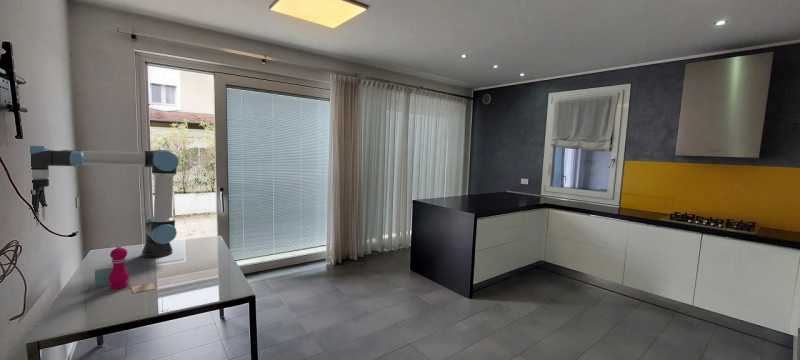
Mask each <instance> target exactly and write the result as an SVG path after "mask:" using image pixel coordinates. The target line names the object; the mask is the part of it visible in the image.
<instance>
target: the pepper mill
mask: <svg viewBox="0 0 800 360" xmlns="http://www.w3.org/2000/svg"><path fill="white" fill-rule="evenodd" d="M115 247H116V248H115V249H112V251H111V252H110V254H109V257H110V258H111V263H112V266H113V269H112V272H111V274H110V276H109V282H110V283H112V284H110V289H112V290H117V289H122V288H125V287H127V286H128V282H127V280H129V279H130V273H129V272H128V270H127V269H126V265H125V264H126V261H127V260H126V259H127V258H126V257H127V256H128V249H126V248H125V247H124V248H123V247H122V245H120V244H118V245H116V246H115Z"/></svg>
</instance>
